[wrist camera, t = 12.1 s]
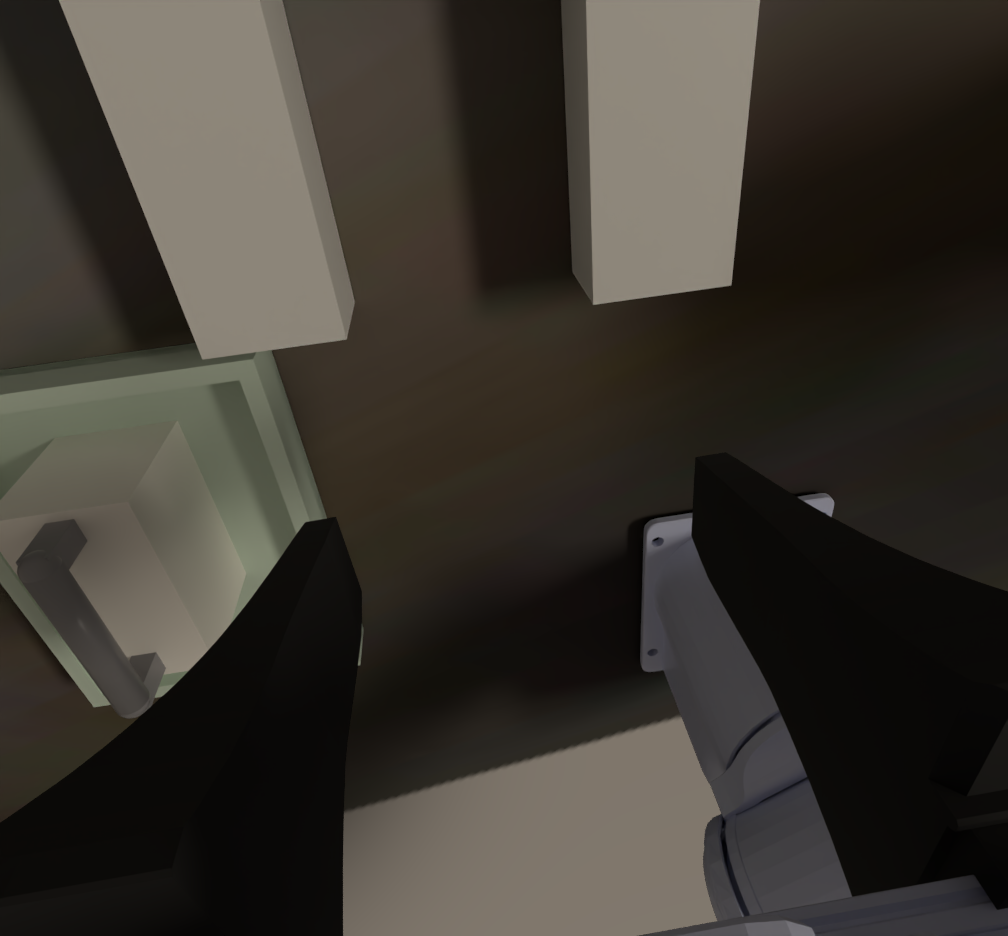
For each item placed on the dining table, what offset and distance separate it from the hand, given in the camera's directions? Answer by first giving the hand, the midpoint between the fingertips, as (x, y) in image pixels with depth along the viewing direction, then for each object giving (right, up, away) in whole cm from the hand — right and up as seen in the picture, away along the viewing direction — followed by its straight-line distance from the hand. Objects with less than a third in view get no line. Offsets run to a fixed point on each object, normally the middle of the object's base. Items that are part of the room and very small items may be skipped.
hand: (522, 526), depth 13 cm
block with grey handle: (-13, 0, +10) cm, 17 cm away
